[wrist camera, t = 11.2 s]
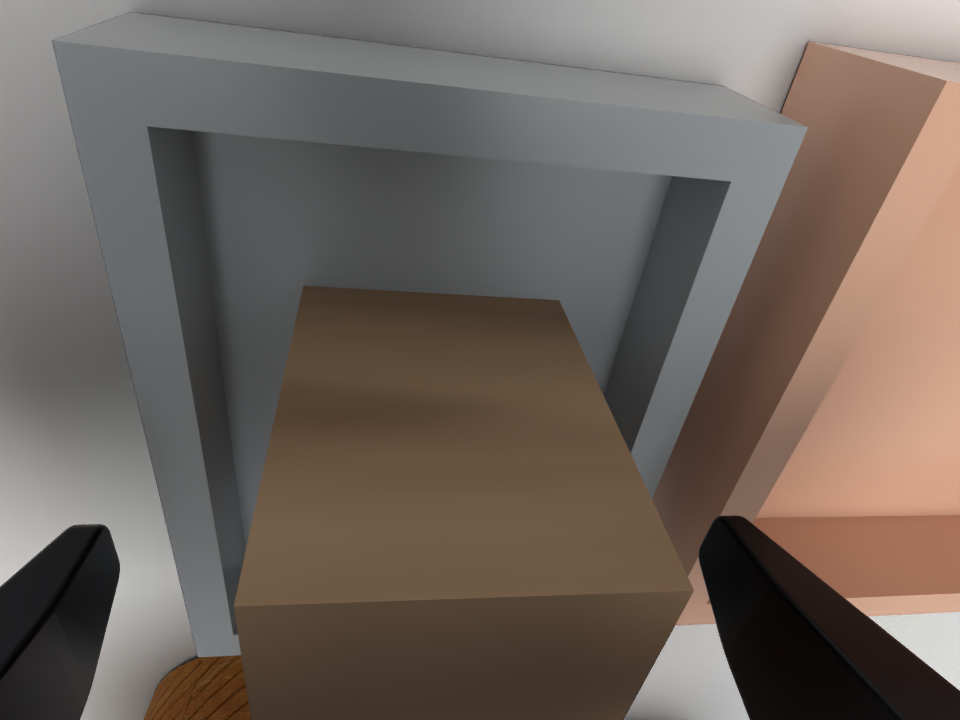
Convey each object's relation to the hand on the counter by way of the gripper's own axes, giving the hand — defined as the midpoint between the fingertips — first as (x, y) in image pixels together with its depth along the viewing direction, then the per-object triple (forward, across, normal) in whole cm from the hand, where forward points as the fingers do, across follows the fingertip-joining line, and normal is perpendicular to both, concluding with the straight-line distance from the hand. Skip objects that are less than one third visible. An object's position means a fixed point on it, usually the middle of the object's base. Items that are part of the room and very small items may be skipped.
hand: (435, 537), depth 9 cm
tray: (+4, 0, 0) cm, 4 cm away
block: (+4, 0, 0) cm, 4 cm away
